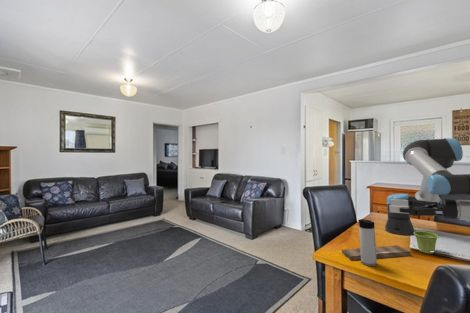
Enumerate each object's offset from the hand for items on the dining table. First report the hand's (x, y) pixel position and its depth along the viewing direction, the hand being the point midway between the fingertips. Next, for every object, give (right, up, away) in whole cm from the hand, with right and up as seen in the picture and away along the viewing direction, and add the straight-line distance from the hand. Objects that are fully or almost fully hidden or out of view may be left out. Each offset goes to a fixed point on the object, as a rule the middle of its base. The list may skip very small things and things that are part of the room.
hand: (389, 205), depth 101 cm
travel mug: (-6, -28, +5) cm, 29 cm away
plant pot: (+28, -26, +15) cm, 41 cm away
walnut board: (+2, -27, +14) cm, 31 cm away
